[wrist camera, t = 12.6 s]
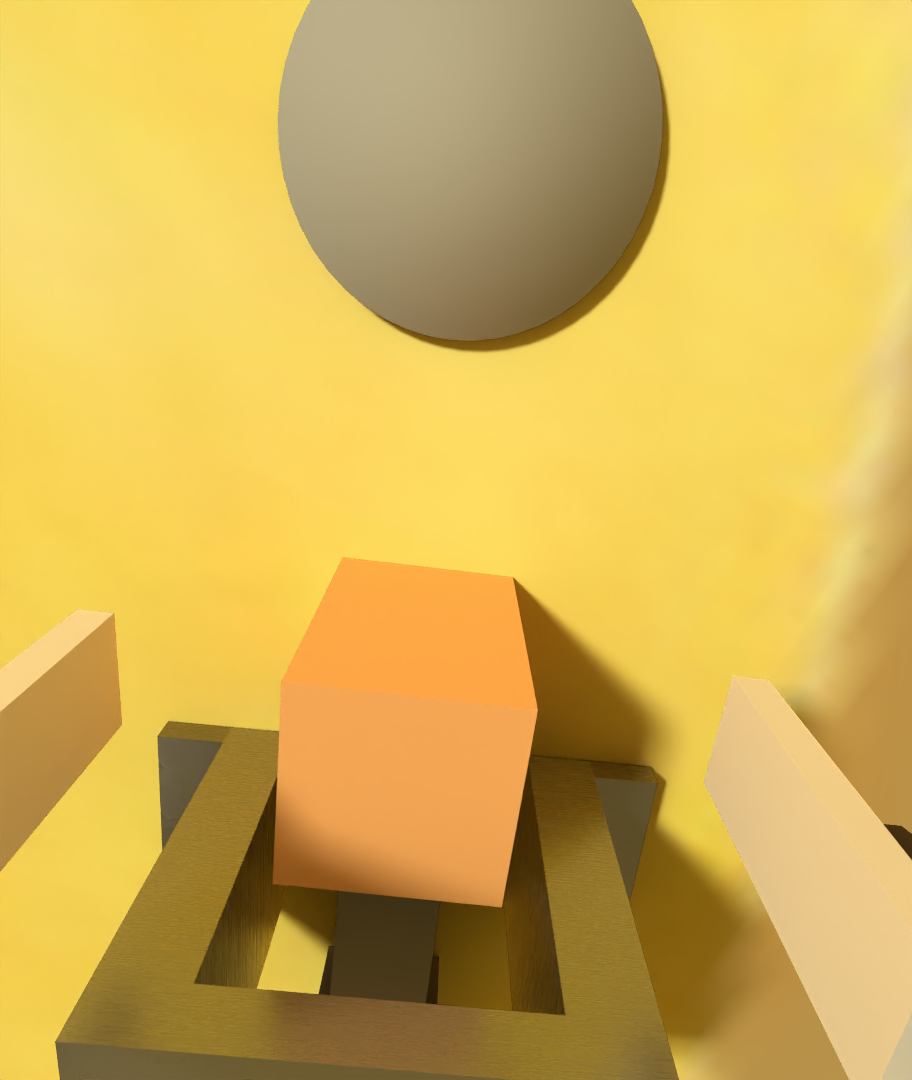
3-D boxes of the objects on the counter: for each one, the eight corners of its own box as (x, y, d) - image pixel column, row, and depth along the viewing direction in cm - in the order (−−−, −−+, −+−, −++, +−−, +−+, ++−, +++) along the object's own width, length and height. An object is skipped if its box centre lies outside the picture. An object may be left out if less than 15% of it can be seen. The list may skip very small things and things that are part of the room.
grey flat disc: (278, 320, 18) (274, 321, 17) (286, -112, 15) (282, -123, 14) (621, 357, 18) (624, 358, 17) (694, -62, 15) (700, -72, 15)
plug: (310, 1005, 25) (256, 1249, 19) (342, 557, 20) (281, 681, 13) (443, 1017, 26) (435, 1265, 19) (513, 577, 20) (537, 710, 13)
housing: (173, 870, 23) (-17, 1237, 14) (168, 721, 21) (-57, 1032, 12) (617, 910, 24) (716, 1294, 14) (650, 766, 22) (789, 1102, 13)
